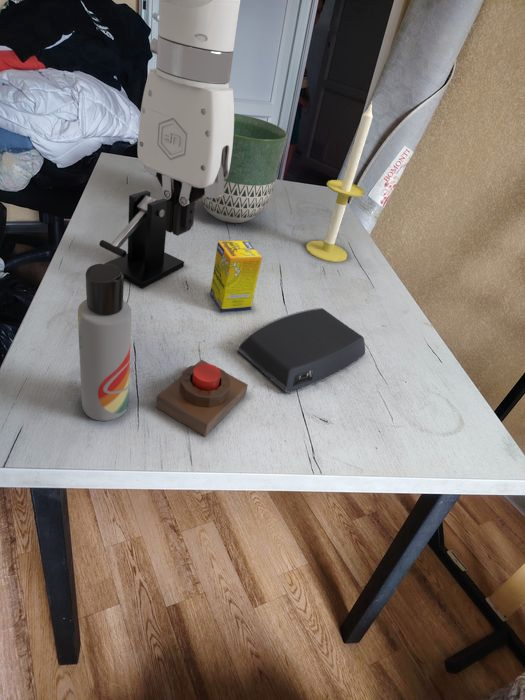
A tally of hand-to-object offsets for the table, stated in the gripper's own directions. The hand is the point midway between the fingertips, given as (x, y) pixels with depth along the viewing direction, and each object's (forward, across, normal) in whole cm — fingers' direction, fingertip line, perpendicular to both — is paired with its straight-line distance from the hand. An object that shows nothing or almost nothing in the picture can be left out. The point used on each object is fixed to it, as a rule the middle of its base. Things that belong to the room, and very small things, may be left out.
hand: (178, 230), depth 60 cm
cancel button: (+17, +10, -5) cm, 20 cm away
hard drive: (+20, +16, +15) cm, 30 cm away
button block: (+20, +10, -5) cm, 23 cm away
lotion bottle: (+20, 0, -13) cm, 24 cm away
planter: (+20, -21, +52) cm, 60 cm away
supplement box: (+20, -1, +20) cm, 28 cm away
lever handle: (+12, -19, +15) cm, 27 cm away
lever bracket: (+20, -19, +18) cm, 33 cm away
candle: (+20, +4, +55) cm, 59 cm away
